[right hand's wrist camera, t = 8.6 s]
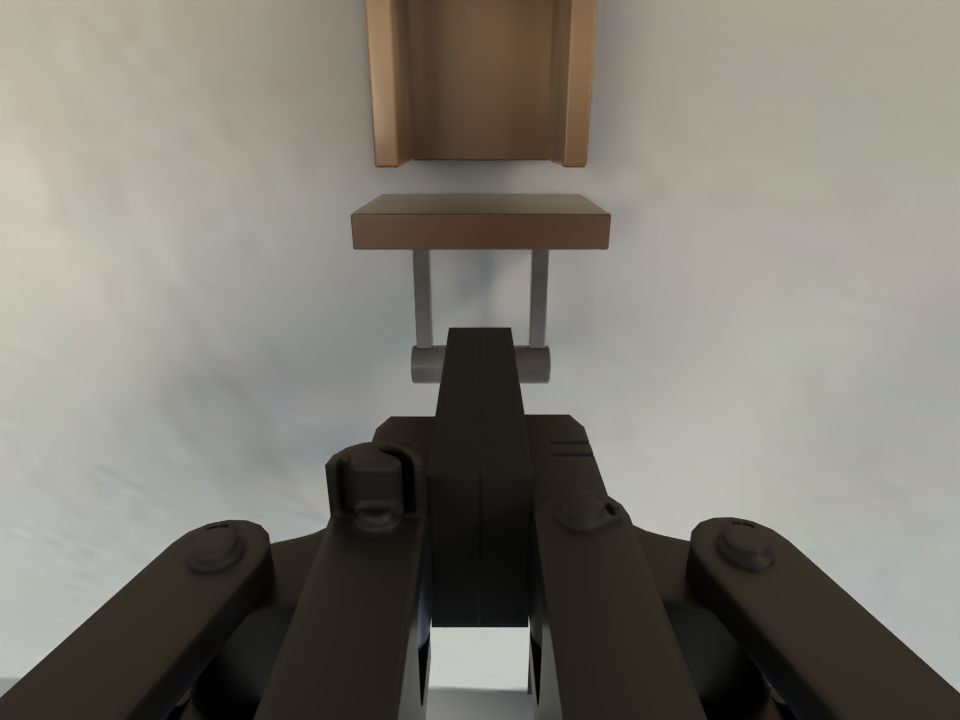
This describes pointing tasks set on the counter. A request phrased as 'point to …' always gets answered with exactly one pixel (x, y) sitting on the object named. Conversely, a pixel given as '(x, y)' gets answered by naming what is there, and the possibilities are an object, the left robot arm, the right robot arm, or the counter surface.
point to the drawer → (480, 140)
